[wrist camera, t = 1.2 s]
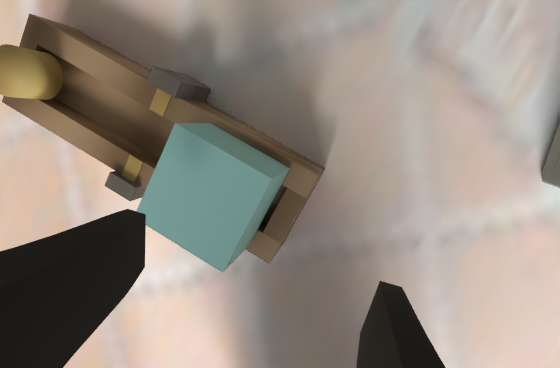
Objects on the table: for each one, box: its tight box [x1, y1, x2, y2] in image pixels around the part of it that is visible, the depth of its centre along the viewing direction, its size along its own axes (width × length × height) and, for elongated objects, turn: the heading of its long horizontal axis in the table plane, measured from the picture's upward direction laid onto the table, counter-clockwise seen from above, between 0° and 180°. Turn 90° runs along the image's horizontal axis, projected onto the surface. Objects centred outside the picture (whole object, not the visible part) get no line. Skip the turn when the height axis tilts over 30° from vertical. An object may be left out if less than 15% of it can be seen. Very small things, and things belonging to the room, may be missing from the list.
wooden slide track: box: [0, 14, 324, 263], centre depth 20 cm, size 17×7×5 cm, turn 63°
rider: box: [136, 123, 290, 272], centre depth 17 cm, size 4×4×5 cm
